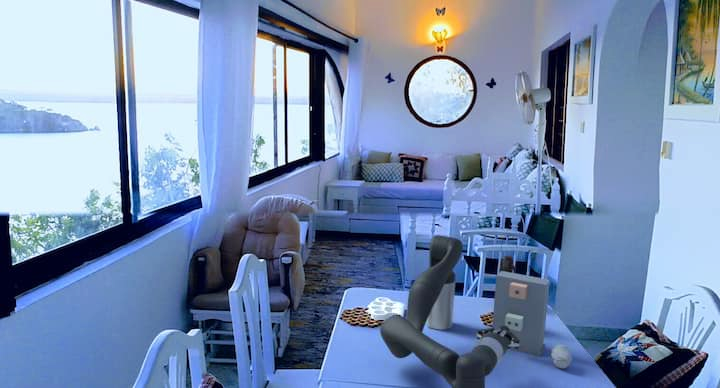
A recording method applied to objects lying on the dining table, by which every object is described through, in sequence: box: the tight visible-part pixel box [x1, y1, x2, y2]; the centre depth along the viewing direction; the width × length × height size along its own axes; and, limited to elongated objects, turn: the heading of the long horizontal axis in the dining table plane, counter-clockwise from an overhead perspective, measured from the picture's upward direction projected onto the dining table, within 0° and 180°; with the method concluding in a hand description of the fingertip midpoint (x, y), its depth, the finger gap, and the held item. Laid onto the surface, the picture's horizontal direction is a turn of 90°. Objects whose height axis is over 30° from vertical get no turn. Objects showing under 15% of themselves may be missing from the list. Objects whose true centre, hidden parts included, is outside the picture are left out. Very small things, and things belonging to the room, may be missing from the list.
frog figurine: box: [550, 343, 573, 369], centre depth 163 cm, size 6×7×7 cm
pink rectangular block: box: [509, 282, 528, 300], centre depth 169 cm, size 3×5×4 cm
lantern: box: [498, 233, 518, 273], centre depth 211 cm, size 8×8×30 cm
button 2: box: [505, 313, 524, 331], centre depth 169 cm, size 3×5×4 cm
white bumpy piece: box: [365, 297, 406, 320], centre depth 201 cm, size 3×18×15 cm
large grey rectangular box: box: [491, 270, 551, 358], centre depth 175 cm, size 8×17×24 cm, turn 60°
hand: (505, 328), depth 159 cm, fingers closed
